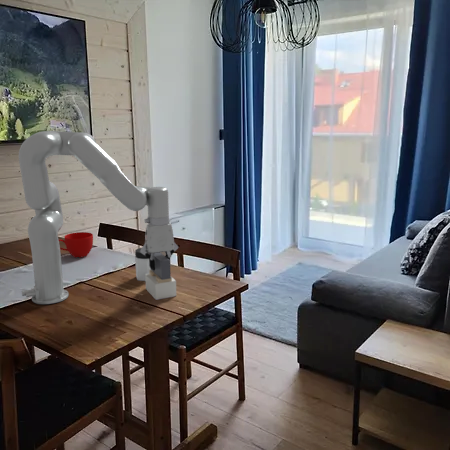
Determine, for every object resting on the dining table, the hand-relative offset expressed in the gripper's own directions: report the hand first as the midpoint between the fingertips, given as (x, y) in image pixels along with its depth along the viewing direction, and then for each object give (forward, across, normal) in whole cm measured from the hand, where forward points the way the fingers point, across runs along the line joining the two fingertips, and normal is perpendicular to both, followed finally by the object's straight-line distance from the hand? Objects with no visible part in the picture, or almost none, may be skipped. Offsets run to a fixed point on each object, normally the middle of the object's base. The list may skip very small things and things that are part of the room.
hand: (160, 267), depth 167 cm
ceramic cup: (+10, -21, +62) cm, 66 cm away
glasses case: (+2, 0, 0) cm, 2 cm away
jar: (+10, 0, +18) cm, 21 cm away
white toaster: (+10, 0, 0) cm, 10 cm away
